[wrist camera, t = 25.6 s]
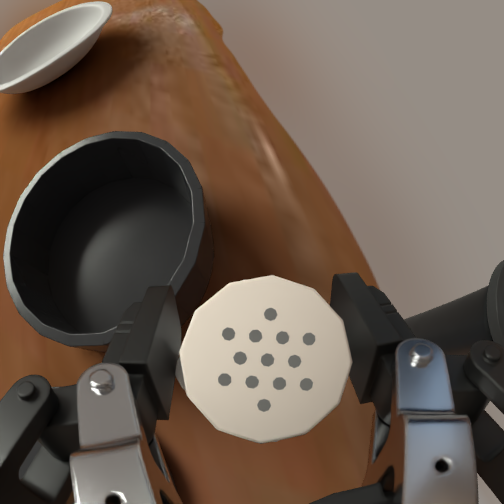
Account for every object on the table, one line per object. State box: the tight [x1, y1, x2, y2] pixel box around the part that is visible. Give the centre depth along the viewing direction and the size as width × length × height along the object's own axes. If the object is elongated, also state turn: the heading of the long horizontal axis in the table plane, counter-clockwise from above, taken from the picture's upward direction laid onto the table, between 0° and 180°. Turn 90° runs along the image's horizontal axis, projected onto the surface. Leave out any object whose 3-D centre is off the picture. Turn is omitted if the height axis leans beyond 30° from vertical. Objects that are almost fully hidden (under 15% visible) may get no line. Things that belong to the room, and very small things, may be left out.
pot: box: [3, 131, 214, 352], centre depth 22 cm, size 17×17×6 cm
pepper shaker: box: [175, 275, 352, 444], centre depth 10 cm, size 4×4×10 cm
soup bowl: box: [0, 2, 112, 94], centre depth 33 cm, size 24×24×7 cm
